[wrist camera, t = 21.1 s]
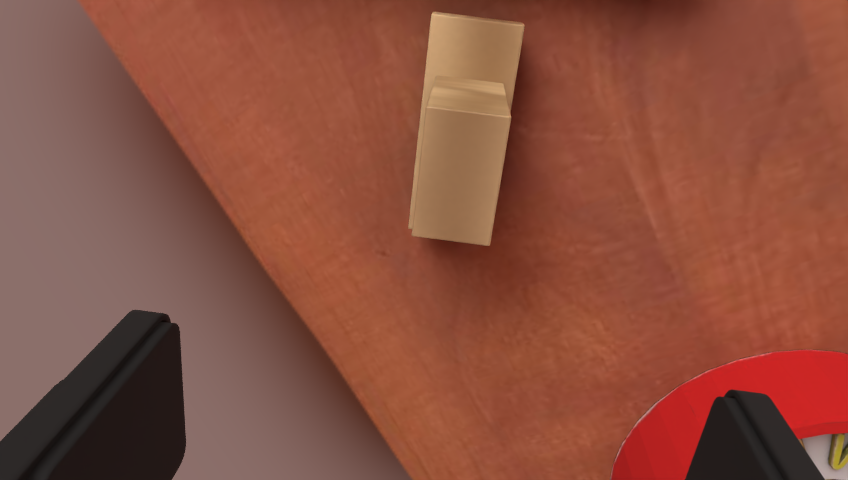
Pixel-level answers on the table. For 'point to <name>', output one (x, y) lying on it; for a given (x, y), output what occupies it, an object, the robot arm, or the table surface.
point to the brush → (464, 126)
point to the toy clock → (768, 373)
